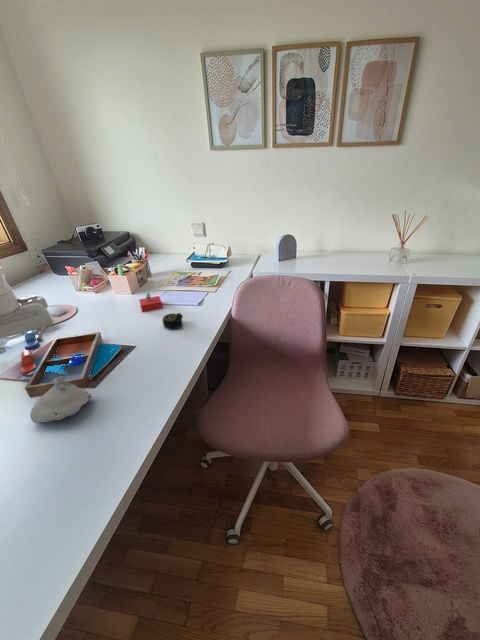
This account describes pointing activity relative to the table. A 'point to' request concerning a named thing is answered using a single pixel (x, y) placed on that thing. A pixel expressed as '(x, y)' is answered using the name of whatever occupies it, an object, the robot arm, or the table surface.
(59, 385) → the grey clay mound
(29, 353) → the red spoon
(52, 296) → the table surface
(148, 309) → the red rectangular block
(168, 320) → the tape measure
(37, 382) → the sorting tray
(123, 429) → the table surface
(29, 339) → the blue elongated piece
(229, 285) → the table surface
